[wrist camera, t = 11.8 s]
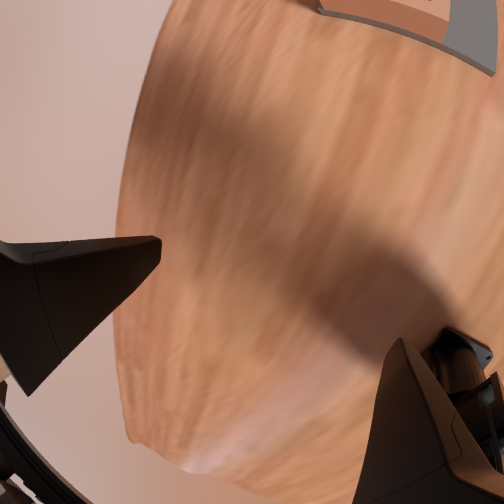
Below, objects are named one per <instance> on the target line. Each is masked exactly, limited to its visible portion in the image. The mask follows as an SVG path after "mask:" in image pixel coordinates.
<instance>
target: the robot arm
mask: <svg viewBox="0 0 504 504" xmlns="http://www.w3.org/2000/svg"><path fill="white" fill-rule="evenodd" d="M161 250H162V241H161V239H159V238H157V237H155V236H152V235H150V236H133V237H117V238H103V239H88V240H76V241H70V242H69V241H61V242H46V243H6V242H2V241H0V504H36V503H35V502H34V501H33V500H32V498H30V497H29V496H28V495H26V494H25V493H24V492H23V491H22V489H21V488H20V487H19V486H17V484H15V483H14V482H13V481H12V480H11V479H10V477H11V476H12V475H13V474H14V473H15V474H16V475H18V476H19V477H20V478H21V479H22V480H23V481H24V482H23V484H24V485H25V486H26V487H27V488H28V489H30V490H31V491H33V493H35V495H36V496H35V497H36V498H37V499H38V500H39V501H40V502H42V503H44V504H93V503H92V502H91V501H89V500H88V499H87V498H86V497H85V496H83V495H82V494H81V493H80V492H79V491H78V490H77V489H75V488H74V487H73V486H72V485H71V484H70V483H69V482H68V481H67V480H66V479H65V478H63V477H62V476H61V475H60V474H59V473H58V472H57V471H56V470H55V469H54V468H53V467H52V466H51V465H50V464H49V463H48V461H47V460H46V459H45V458H44V457H43V456H42V455H41V454H40V453H39V452H38V450H37V449H36V448H35V447H34V446H33V445H32V443H31V442H30V441H29V440H28V439H27V437H26V436H25V435H24V434H23V432H22V431H21V430H20V428H19V427H18V426H17V424H16V423H15V422H14V420H13V419H12V418H11V416H10V415H9V413H8V412H7V411H6V409H5V400H6V392H7V383H6V382H5V380H4V379H6V378H7V377H8V376H9V375H12V376H13V378H14V379H15V381H16V382H17V383H18V385H19V386H20V388H21V389H22V390H23V391H24V393H25V394H26V395H27V397H28V396H30V395H31V394H32V393H33V392H34V391H35V390H36V389H37V388H38V387H39V386H40V384H41V383H42V382H43V381H44V380H45V379H46V378H47V377H48V376H49V375H50V374H51V373H52V372H53V370H54V369H55V368H56V367H57V366H58V365H59V364H60V363H61V362H62V360H64V359H65V358H66V357H67V356H68V355H69V354H70V353H71V352H72V351H73V350H74V349H75V347H77V346H78V345H79V344H80V342H82V341H83V340H84V339H85V338H86V337H87V336H88V335H89V334H90V333H91V332H92V331H93V330H94V329H95V328H96V327H97V326H98V325H99V324H100V323H101V322H102V321H103V320H104V319H105V318H106V317H107V316H108V315H109V314H110V313H112V312H113V311H114V310H115V309H116V308H117V307H118V306H119V305H120V304H121V303H122V302H123V301H124V300H125V299H126V298H128V297H129V296H130V295H131V294H132V293H133V292H134V291H135V290H136V289H137V288H138V287H139V286H140V285H141V283H142V282H143V281H144V280H145V279H146V278H147V277H148V276H149V274H150V273H151V272H152V271H153V270H154V269H155V268H156V267H157V266H158V264H159V263H160V260H161ZM447 332H448V334H447V335H444V334H445V333H447ZM488 355H490V356H489V357H487V356H488ZM492 358H493V353H492V351H491V350H489V349H487V348H486V347H484V346H482V345H480V344H478V343H477V342H475V341H473V340H471V339H469V338H467V337H466V336H464V335H462V334H460V333H458V332H456V331H455V330H453V329H451V328H449V327H445V328H443V329H442V330H441V332H440V333H439V335H438V336H437V337H436V339H435V340H434V341H433V343H432V344H431V345H430V346H429V347H427V348H426V349H425V350H424V352H423V353H422V354H421V355H420V354H419V353H418V351H417V350H416V348H415V347H414V345H413V344H412V343H411V341H410V340H408V339H405V338H402V337H400V338H398V339H397V340H396V342H395V343H394V344H393V346H392V347H391V349H390V350H389V352H388V353H387V355H386V356H385V359H384V363H383V368H382V373H381V377H380V381H379V386H378V390H377V394H376V399H375V405H374V412H373V418H372V424H371V429H370V435H369V440H368V445H367V449H366V454H365V458H364V462H363V466H362V470H361V474H360V478H359V482H358V485H357V489H356V492H355V495H354V499H353V502H352V504H504V387H503V384H502V382H501V380H500V378H499V375H498V373H497V371H496V372H494V373H493V374H492V375H490V376H491V377H490V378H488V379H487V380H486V378H485V374H484V371H483V370H484V368H485V367H486V366H487V365H488V364H489V362H490V361H491V360H492Z"/></svg>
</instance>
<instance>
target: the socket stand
mask: <svg viewBox="0 0 504 504" xmlns="http://www.w3.org/2000/svg"><path fill="white" fill-rule="evenodd" d="M319 1H320V4H319V7H318V10H319V11H320V13H321V15H326V16H332V17H338V18H343V19H348V20H352V21H357V22H361V23H365V24H369V25H373V26H376V27H380V28H383V29H386V30H390V31H393V32H396V33H399V34H402V35H405V36H408V37H410V38H413V39H416V40H418V41H421V42H424V43H426V44H428V45H431V46H433V47H435V48H438V49H440V50H442V51H444V52H447V53H449V54H451V55H453V56H455V57H457V58H459V59H461V60H463V61H465V62H467V63H468V64H470V65H472V66H474V67H476V68H477V69H479V70H481V71H483V72H484V73H486V74H488V75H489V76H491V77H492V76H493V75H494V74H495V73H496V65H497V46H498V24H497V6H496V0H319Z"/></svg>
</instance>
